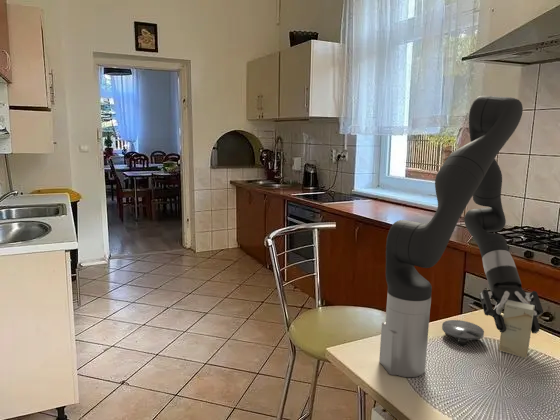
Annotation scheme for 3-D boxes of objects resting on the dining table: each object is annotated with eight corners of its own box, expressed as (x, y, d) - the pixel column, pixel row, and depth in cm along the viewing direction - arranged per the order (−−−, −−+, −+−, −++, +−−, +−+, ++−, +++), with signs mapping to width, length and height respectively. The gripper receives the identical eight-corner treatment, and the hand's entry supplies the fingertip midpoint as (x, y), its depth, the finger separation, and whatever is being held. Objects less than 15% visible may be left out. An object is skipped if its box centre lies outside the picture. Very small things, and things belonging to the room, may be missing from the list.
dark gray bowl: (455, 348, 108) (456, 337, 107) (434, 331, 117) (435, 320, 117) (491, 346, 109) (492, 335, 109) (467, 329, 119) (468, 319, 119)
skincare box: (498, 350, 107) (503, 303, 105) (501, 344, 111) (506, 298, 109) (527, 358, 103) (533, 310, 102) (529, 351, 107) (534, 304, 105)
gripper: (479, 263, 111) (496, 325, 102) (534, 265, 111) (557, 326, 102) (468, 277, 117) (483, 336, 108) (521, 278, 117) (541, 338, 108)
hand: (519, 331), depth 105 cm, fingers closed on skincare box, 7 cm apart
